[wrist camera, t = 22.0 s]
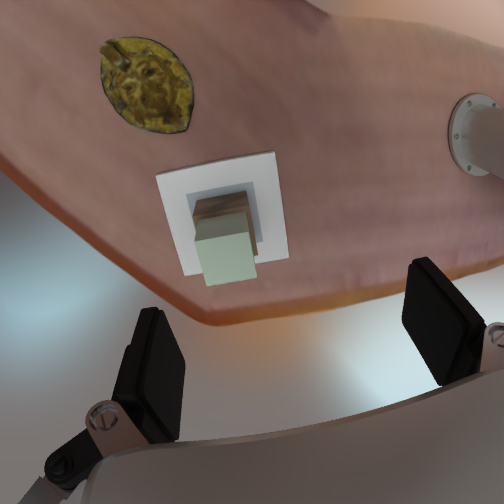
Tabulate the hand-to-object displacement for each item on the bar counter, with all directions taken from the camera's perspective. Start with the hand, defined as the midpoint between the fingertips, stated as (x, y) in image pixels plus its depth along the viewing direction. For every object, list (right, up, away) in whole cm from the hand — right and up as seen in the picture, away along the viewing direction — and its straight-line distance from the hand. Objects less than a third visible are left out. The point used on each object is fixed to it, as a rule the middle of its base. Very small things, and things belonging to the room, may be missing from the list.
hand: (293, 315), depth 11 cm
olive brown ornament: (-13, +22, +20) cm, 32 cm away
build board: (-5, +7, +28) cm, 29 cm away
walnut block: (-5, +6, +27) cm, 28 cm away
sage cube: (-4, +4, +23) cm, 24 cm away
